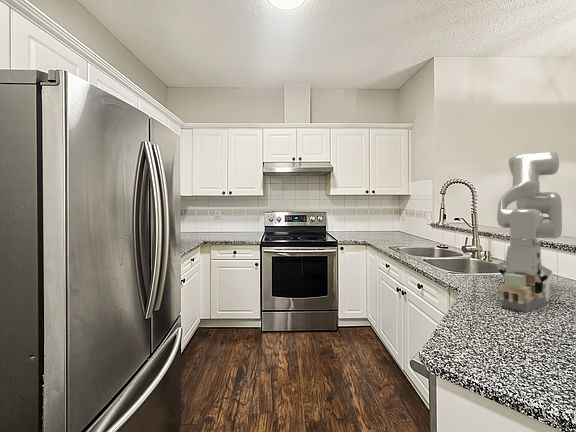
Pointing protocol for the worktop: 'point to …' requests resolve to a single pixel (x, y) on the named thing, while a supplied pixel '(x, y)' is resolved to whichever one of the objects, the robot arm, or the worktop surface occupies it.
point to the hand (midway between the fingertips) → (522, 290)
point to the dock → (525, 304)
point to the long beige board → (520, 293)
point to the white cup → (546, 286)
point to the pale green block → (515, 280)
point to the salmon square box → (530, 279)
